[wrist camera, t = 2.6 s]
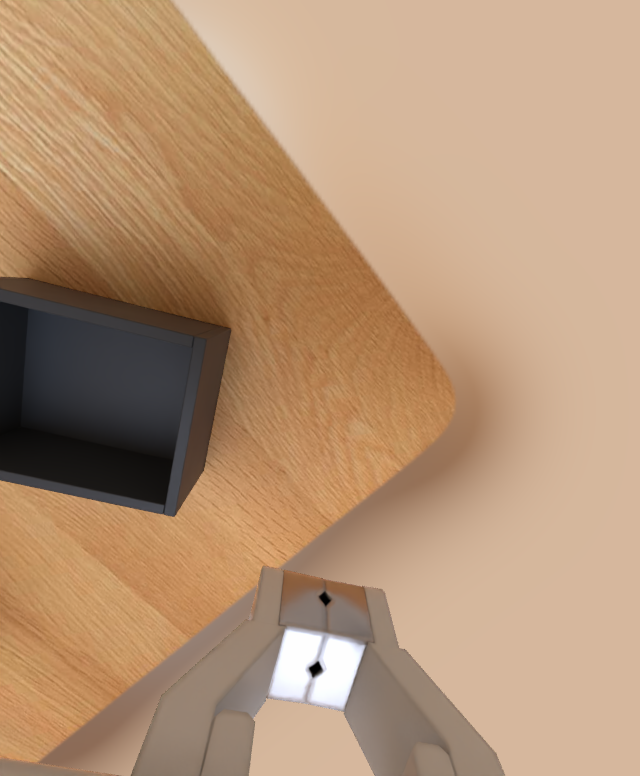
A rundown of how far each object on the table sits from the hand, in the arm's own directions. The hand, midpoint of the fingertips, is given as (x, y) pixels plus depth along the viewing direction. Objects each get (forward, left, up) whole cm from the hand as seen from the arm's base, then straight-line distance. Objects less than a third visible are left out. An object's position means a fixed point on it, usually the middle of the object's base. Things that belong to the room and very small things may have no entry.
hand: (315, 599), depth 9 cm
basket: (+10, -4, -12) cm, 16 cm away
